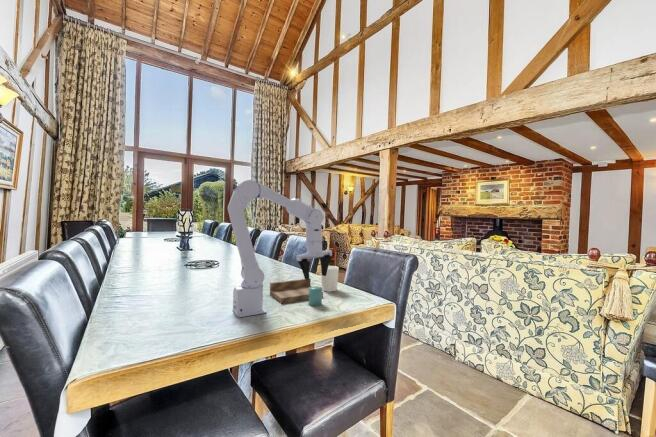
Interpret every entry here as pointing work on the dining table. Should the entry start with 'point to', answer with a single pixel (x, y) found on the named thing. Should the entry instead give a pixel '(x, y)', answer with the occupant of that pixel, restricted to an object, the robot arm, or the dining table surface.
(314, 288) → the teal round canister
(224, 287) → the dining table surface
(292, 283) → the walnut shelf
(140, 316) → the dining table surface
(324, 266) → the robot arm
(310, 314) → the dining table surface
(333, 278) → the white cup
